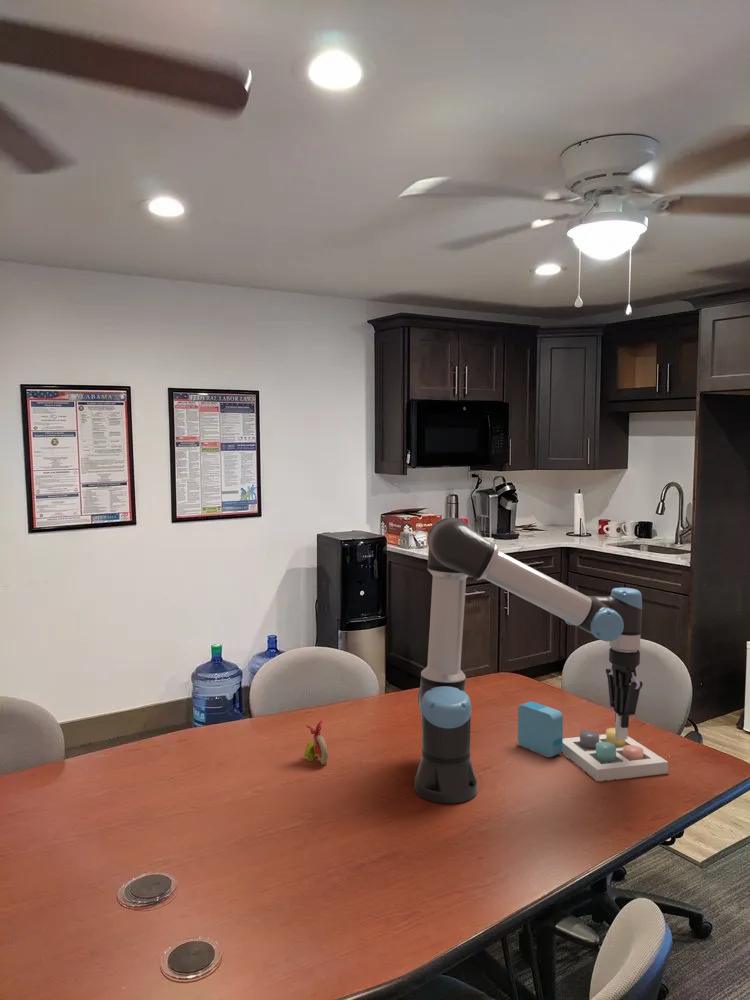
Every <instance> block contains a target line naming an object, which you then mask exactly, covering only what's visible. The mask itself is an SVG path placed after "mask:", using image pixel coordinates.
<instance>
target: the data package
mask: <svg viewBox="0 0 750 1000" xmlns="http://www.w3.org/2000/svg"><path fill="white" fill-rule="evenodd" d="M517 709H518V710H517V742H518V744H519V746H520V747H522V746H523V747H522V748H524V747H525V748H524V749H526V748H528V749H530V750H529V751H531V750H533V751H535V752H534V753H536V752H538V753H540V754H539V755H541V754H543V755H545V756H548V757H550V758H553V757H555V756H558V755H560V754H562V753H561V752H562V742H563V739H564V738H563V731H564V725H563V724H564V716H563V713H562V712H561V711H560V710H558V709H555V708H553V707H549V706H547V705H544V704H541V703H538V702H534V701H529V702H525V703H522V704H519V706H518V708H517ZM528 749H527V750H528ZM533 751H532V752H533ZM538 753H537V754H538ZM543 755H542V756H543ZM545 756H544V757H545ZM548 757H547V758H548Z"/></svg>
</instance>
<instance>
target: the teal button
mask: <svg viewBox="0 0 750 1000" xmlns="http://www.w3.org/2000/svg"><path fill="white" fill-rule="evenodd" d="M596 758H597V759H599V760H601V761H606V762H612V761H615V760H616V745H615V744H613V743H610V742H598V743H596Z"/></svg>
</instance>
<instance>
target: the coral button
mask: <svg viewBox="0 0 750 1000" xmlns="http://www.w3.org/2000/svg"><path fill="white" fill-rule="evenodd" d="M643 753H644V750H643V749H642V748H641V747H638V746H634V745H626V746H624V747H623V757H625V758H626V759H628V760H629V761H633V760H642V759H643Z"/></svg>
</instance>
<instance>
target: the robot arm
mask: <svg viewBox="0 0 750 1000" xmlns="http://www.w3.org/2000/svg"><path fill="white" fill-rule="evenodd" d="M426 541H427V545H428V546H427V547H428V552H427V554H428V555H427V566H426V567H427V571H428V572H429V573H430V574H431V575H432V584H431V599H430V600H431V602H430V603H431V604H430V614H429V615H430V616H429V617H430V619H429V633H428V649H427V650H428V651H427V666H426V667H425V668H423V669H422V670H421V672H420V686H419V690H418V693H417V704H418V708H419V712H420V713H419V714H420V718H421V758H420V761H419V765H418V768H417V771H416V772H415V773H416V774H415V777H414V791H415V793H416V794H417V795H418V796H419V797H421V798H423V799H425V800H426V801H429V802H433V803H439V804H459V803H465V802H467V801H470V800H472V799H474V797H475V796H476V795H477V793H478V779H477V776H476V773H475V770H474V767H473V763H472V760H471V724H472V723H471V722H472V721H471V720H472V719H471V718H472V704H471V699H470V697H469V695H468V693H466V677H467V676H466V674H465V673H464V672H463V670H462V669H461V665H462V663H461V662H462V647H463V636H464V635H463V631H464V617H465V602H466V601H465V600H466V586H467V585H466V584H467V578H468V577H470V578H473V579H474V580H476V581H480V580H486V581H488V582H490V583H492V584H493V585H495V586H498V587H500V588H502V589H503V590H505V591H507V592H510V593H511V594H513V595H515V596H518V597H520V598H521V599H523V600H525V601H527V602H529V603H531V604H532V605H535V606H537V607H539V608H541V609H543V610H545V611H547V612H548V613H551V614H552V615H554V616H556V617H559V618H560V619H562V620H564V622H565V623H566V624H567V625H569V626H575V627H577V628H580V629H581V630H584V631H585V632H587V633H590V634H592V635H593V636H594V638H595V639H598V640H600V641H602V642H608V643H609V650H608V651H609V652H608V662H609V663H611V667H610V668H605V673H606V677H607V685H608V696H609V705H610V708H613V711H614V712H615V715H614V718H615V720H614V722H615V725H614V726H615V727H614V728H615V738H616V739H618V740H621V739H628V736H629V734H628V733H629V725H630V724H629V723H630V716H635V714H636V711H637V706H638V702H639V696H640V691H641V689H642V688H643V686H644V685H643V682H642V681H639V680H638V678H637V675H638V674H637V672H636V671H637V669H636V668H637V667H638V666H640V664H641V663H640V662H641V652H640V649H641V633H642V632H641V631H642V616H643V613H642V612H643V598H642V597H643V595H642V593H641V591H640V590H638V589H635V588H630V587H614V588H612V589H611V593H610V595H607V596H600V595H585V594H584V593H581V592H579V591H577V590H576V589H574V588H572V587H570V586H568V585H566V584H565V583H562V582H560V581H558V580H557V579H554V578H553V577H550V576H548V575H547V574H545V573H543V572H541V571H540V570H537V569H535V568H533V567H531V566H529V565H528V564H525V563H524V562H521V561H520V560H517V559H515V558H513V557H512V556H510V555H508V554H507V553H504V552H502V551H500V550H499V549H498V546H497V544H496V543H494V542H492V541H490V540H488V539H486V538H485V537H484V536H482V535H481V534H479V533H478V532H477V531H476V530H474V529H473V528H472V527H471V526H470V525H469V524H468V523H467V522H466V521H464V520H463V519H460V518H459V517H458V518H457V517H445V518H441V519H439V520H437V521H436V522H435V523H434V524H433V525H432V526H431V527H430V529H429V531H428V534H427V539H426Z"/></svg>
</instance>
